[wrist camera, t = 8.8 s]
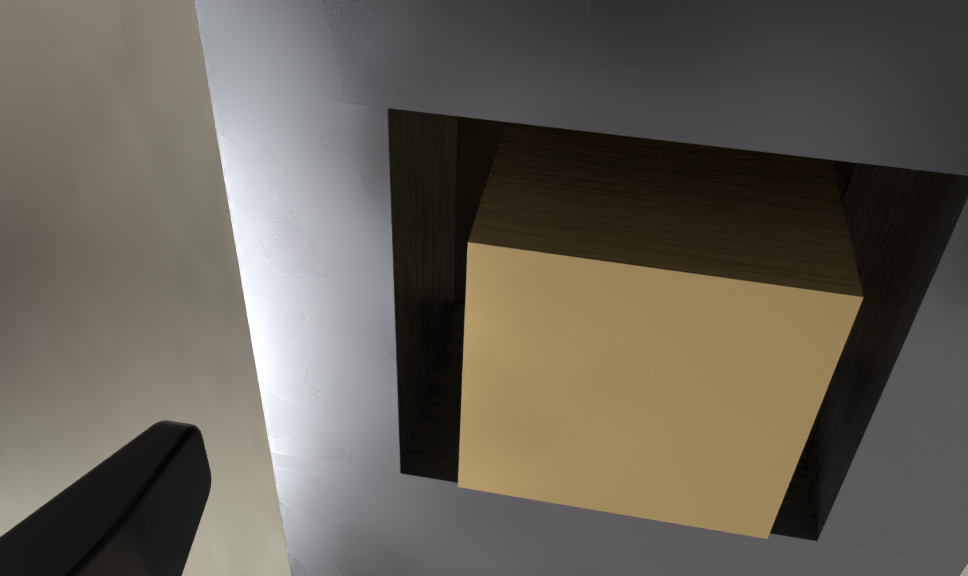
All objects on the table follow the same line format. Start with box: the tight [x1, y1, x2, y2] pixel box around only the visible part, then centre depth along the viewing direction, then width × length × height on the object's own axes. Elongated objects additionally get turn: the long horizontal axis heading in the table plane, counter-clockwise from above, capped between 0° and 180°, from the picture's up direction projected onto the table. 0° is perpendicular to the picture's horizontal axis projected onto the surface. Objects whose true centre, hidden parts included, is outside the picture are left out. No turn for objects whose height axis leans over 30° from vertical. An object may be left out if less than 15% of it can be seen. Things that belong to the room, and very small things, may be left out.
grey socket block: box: [194, 0, 968, 576], centre depth 13 cm, size 10×16×4 cm, turn 179°
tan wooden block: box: [458, 122, 864, 539], centre depth 13 cm, size 4×4×5 cm
